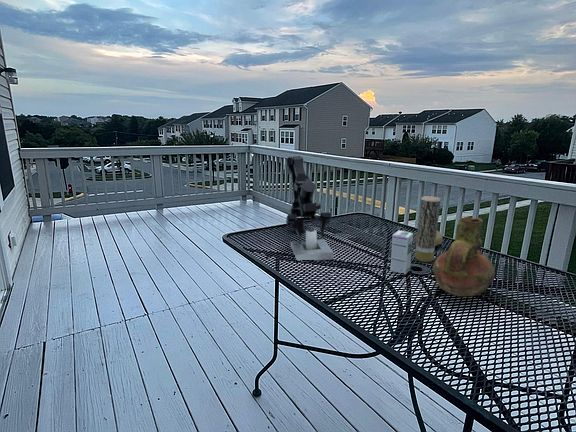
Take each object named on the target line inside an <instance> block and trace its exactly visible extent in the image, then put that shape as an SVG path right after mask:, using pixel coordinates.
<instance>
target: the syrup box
mask: <svg viewBox="0 0 576 432" xmlns="http://www.w3.org/2000/svg"><path fill="white" fill-rule="evenodd" d="M413 240H414V233H413V232H411V231H406V230H399V229H398V230H397V231H396V232H394V233H393V234H392V241H391V255H390V269H389V270H390V272H394V273H397V272H399V273H398V274H401V273H404V274H403V275H406V274H407V273H408V272H409V271H410V270H411V265H412V264H411V263H412V257H413V256H412V255H413V252H412V251H413V244H414V241H413Z"/></svg>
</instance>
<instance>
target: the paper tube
mask: <svg viewBox="0 0 576 432" xmlns="http://www.w3.org/2000/svg"><path fill="white" fill-rule="evenodd" d="M441 200H442V199H441V197H438V196H431V195H430V196H429V195H424V196H421V198H420V203H419V205H420V207H419V217H418V223H417V232H416V235H417V242H416V241H415V244H416V245H415V253H414V258H415V259H416V260H418V261H420V262H424V263H430V262H432V261H433V260H434V255H435V249H436V246H435V241H436V233H437V231H438V226H439V225H438V224H439V215H440V210H441V209H440V208H441V202H442V201H441Z"/></svg>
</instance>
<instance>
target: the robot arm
mask: <svg viewBox="0 0 576 432" xmlns="http://www.w3.org/2000/svg"><path fill="white" fill-rule="evenodd" d="M285 166H286V168H287V172H288V173H289V174H290V176H291V177H290V179H291V186H292V187H291V188H292V196H293V197H292V198H293V202H292V204H291V207H290V209H289V210H290V211H289V213H288V214H287V216H286V218H285V219H286V220H285V223H286V226H287V227H289V228H290V230H291V232H293V233H294V234H297V236H298V237H299V239H301V238H302V234H301V233H306V230H307V229H305V222H310V221H311V222H312V221H315V222H316V221H319V230H320V236H321V237H322V238H323V236H324V232H325V226H327V225H328V224H330V221H331V220H332V213H330V211H329V212H328V211H325V212H321V213H320V215H316V214H317V210H321V208H322V207H321V201H320V200H319V201H315V202H313V197H314V194H315V191H316V187H317V186H316V184H315V182H313V181H311V178H310V177H309V176H308V175H306V171H305V167H304V157H303V156H300V155H297V156H288V157H287V158H286V159H285Z"/></svg>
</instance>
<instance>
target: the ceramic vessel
mask: <svg viewBox="0 0 576 432" xmlns="http://www.w3.org/2000/svg"><path fill="white" fill-rule="evenodd" d="M483 222H484V221H483V219H482V218H480V217H468V216H467V217H466V216H465V217H464V216H463V218H462V217H460V218H459V219H458V222H457V225H456V229H455V230H456V231H455V237H454V241H453V242H452V243H451V244H450V246H449V248H448V250H447V251H445V252H442V254H440V255H439V256H437V258H436V259H435V261H434V262H433V264H432V272H433V273H434V277H435V281H436V283H437V285H438V286H439V288H440V289H441V290H442V291H445V292H446V293H448V294H451V295H453V296H458V297H472V296H474V297H475V296H478V295H480V294H482V293H484V292H485V291H486V290H487V289H488V288H489V287H490V285H491V283H493V281H494V279H495V275H496V273H495V271H496V270H495V267H494V264H493V262H492V261H491V260H490V258H488V257H487V256H486V255H483V254H482V252H481V249H482V245H483V241H482V239H481V235H482V231H483V230H482V228H483V224H484V223H483Z"/></svg>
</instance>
